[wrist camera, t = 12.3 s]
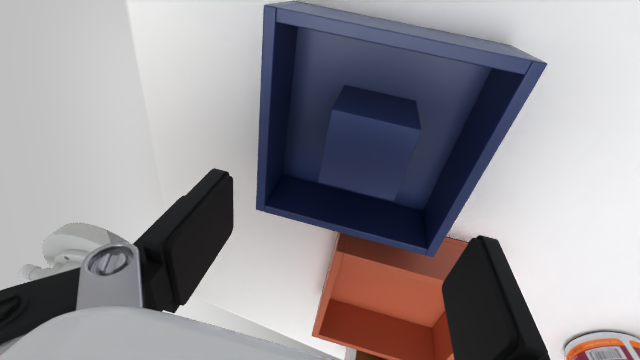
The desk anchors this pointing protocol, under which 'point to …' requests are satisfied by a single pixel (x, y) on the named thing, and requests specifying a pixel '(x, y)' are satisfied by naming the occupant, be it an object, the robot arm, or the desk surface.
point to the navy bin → (393, 79)
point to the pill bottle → (604, 347)
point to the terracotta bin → (387, 299)
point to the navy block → (369, 142)
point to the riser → (360, 355)
